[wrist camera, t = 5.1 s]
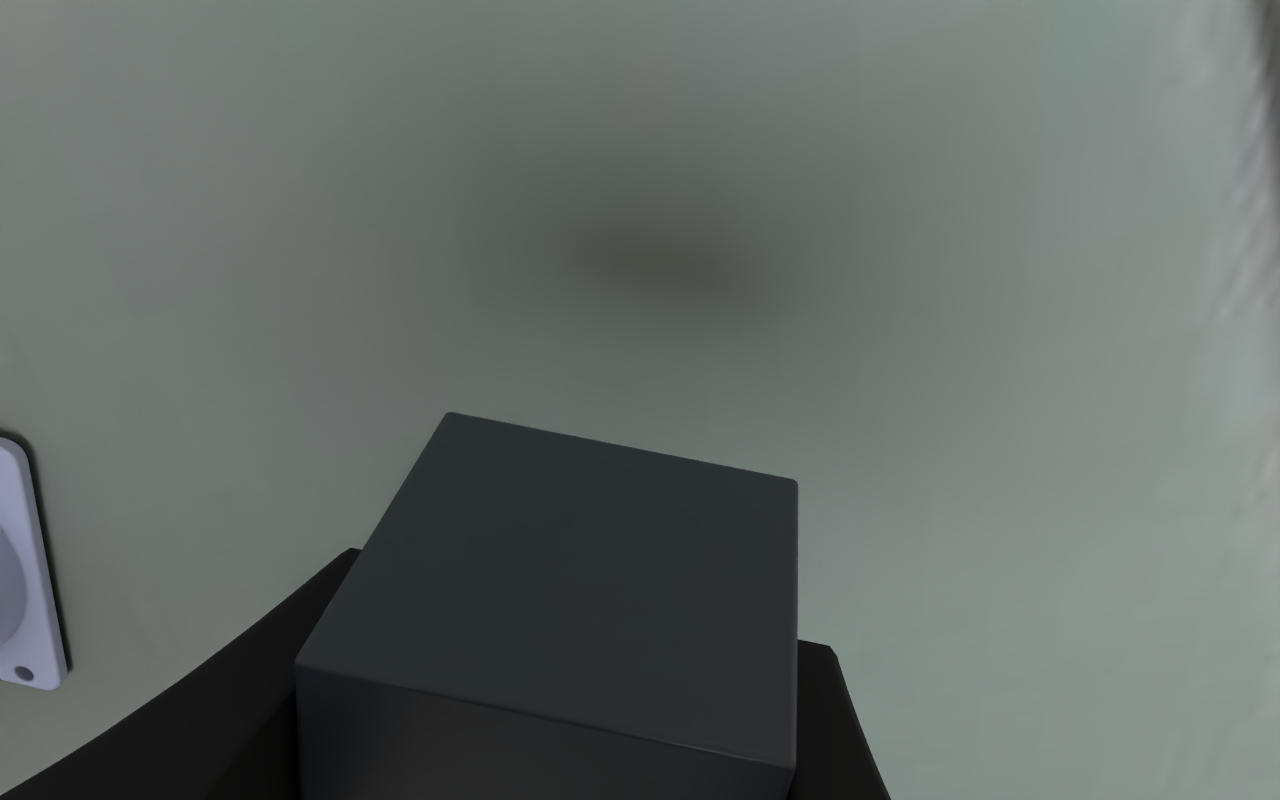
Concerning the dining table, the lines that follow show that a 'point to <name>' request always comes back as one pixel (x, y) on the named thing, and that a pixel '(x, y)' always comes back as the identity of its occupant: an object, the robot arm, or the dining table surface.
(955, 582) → the dining table surface
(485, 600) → the block
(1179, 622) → the dining table surface
